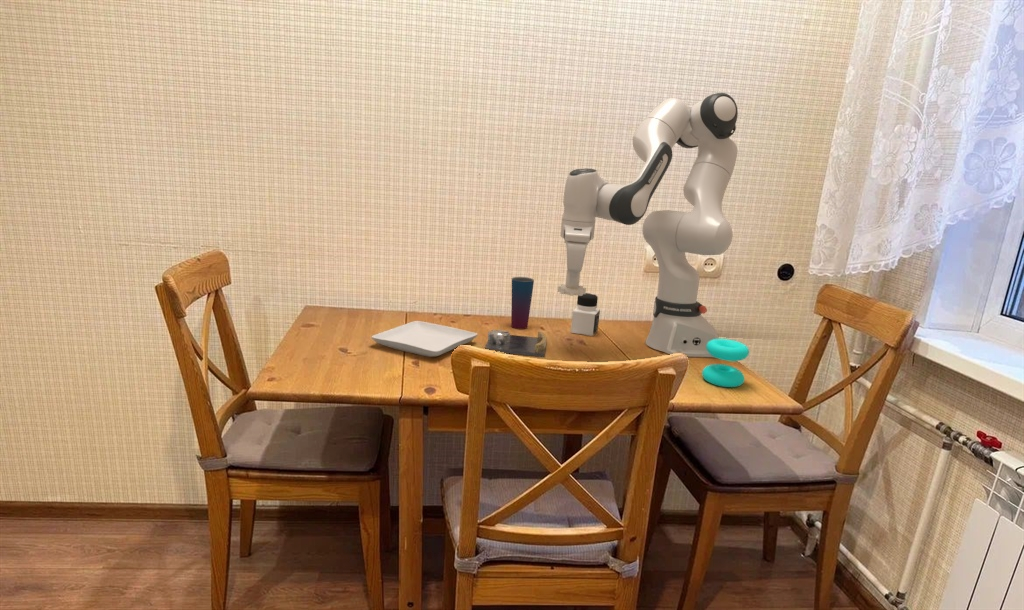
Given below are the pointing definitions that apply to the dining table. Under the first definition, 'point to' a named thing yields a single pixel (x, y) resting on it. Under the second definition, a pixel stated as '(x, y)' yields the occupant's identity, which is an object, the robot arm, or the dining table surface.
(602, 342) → the dining table surface
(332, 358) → the dining table surface
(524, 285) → the cup
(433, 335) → the salad plate
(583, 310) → the medicine bottle
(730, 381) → the donuts
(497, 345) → the carrier plate
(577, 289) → the planet gear
